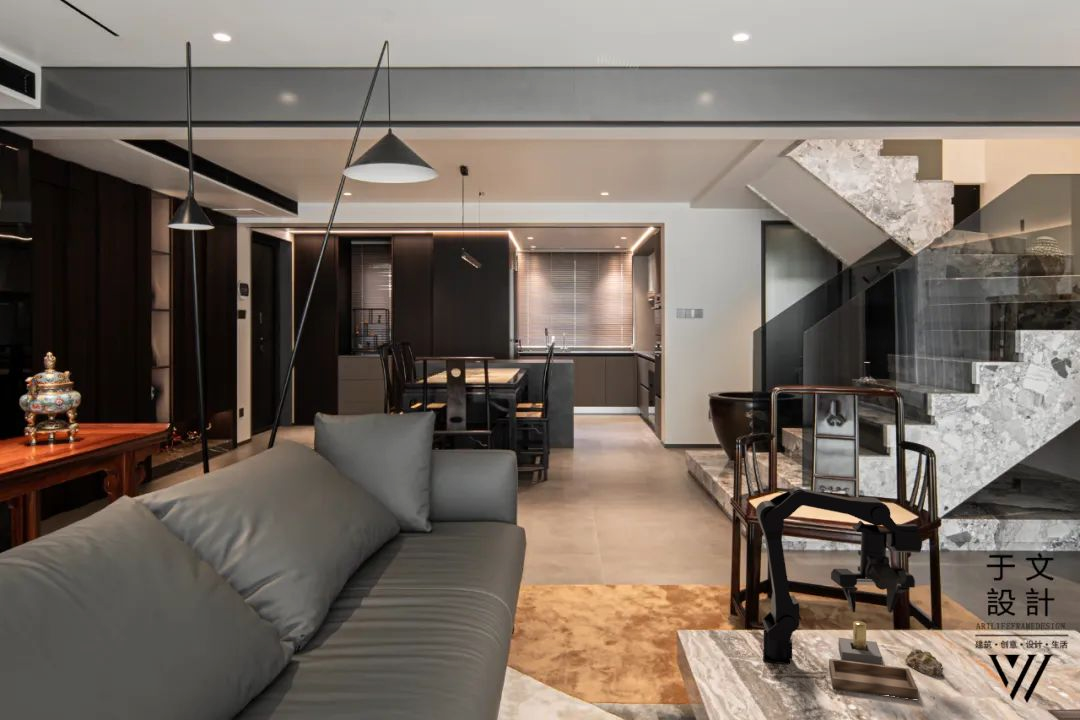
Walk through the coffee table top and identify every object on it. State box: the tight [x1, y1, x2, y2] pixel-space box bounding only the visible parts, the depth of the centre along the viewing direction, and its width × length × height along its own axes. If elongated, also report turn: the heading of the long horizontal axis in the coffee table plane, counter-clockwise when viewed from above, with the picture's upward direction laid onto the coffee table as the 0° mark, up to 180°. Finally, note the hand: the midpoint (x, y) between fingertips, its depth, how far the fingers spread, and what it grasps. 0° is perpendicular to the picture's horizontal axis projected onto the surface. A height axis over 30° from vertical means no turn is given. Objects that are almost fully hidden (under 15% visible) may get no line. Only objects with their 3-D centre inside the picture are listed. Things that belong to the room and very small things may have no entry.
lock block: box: [838, 637, 883, 665], centre depth 176 cm, size 9×9×3 cm
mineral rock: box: [905, 648, 943, 678], centre depth 171 cm, size 11×4×8 cm
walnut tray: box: [828, 658, 919, 700], centre depth 162 cm, size 18×11×2 cm, turn 72°
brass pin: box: [852, 620, 867, 651], centre depth 176 cm, size 3×3×9 cm
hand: (871, 612), depth 173 cm, fingers open, 9 cm apart
